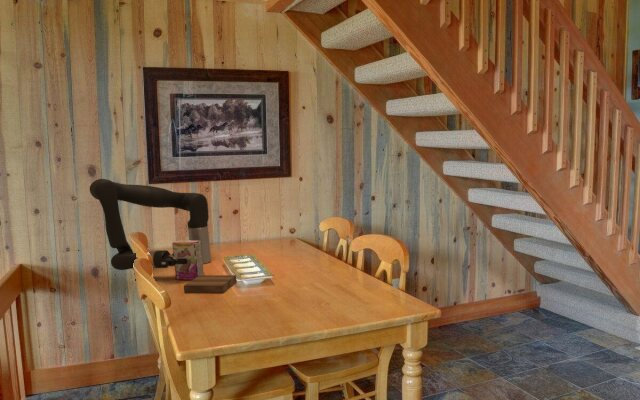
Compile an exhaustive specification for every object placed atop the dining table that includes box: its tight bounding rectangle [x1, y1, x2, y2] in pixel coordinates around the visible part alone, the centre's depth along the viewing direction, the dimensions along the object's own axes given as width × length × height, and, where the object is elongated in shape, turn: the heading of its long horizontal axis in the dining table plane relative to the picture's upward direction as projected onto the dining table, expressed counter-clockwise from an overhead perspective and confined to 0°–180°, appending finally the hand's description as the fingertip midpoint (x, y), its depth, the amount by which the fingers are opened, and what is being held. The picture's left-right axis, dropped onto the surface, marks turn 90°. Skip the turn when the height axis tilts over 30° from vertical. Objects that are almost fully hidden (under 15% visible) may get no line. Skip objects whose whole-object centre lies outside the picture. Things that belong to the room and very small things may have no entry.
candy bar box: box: [171, 239, 205, 281], centre depth 225 cm, size 11×5×16 cm, turn 71°
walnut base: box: [183, 274, 237, 294], centre depth 211 cm, size 14×16×3 cm
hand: (191, 258), depth 224 cm, fingers open, 8 cm apart
